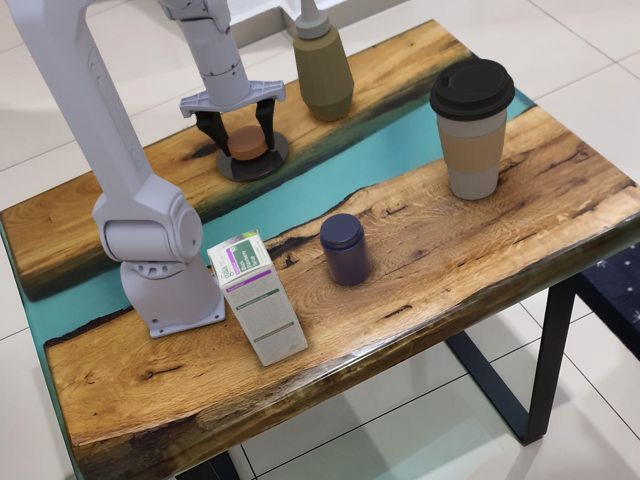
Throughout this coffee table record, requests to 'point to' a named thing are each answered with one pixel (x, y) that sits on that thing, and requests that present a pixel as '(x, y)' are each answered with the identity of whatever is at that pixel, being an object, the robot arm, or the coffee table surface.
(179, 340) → the coffee table surface
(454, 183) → the coffee cup
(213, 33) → the robot arm
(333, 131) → the coffee table surface
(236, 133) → the jar lid
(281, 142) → the coaster
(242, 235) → the syrup box
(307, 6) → the squeeze bottle
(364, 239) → the jar
